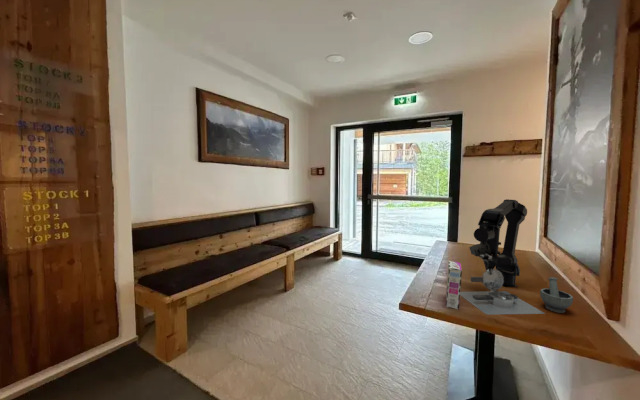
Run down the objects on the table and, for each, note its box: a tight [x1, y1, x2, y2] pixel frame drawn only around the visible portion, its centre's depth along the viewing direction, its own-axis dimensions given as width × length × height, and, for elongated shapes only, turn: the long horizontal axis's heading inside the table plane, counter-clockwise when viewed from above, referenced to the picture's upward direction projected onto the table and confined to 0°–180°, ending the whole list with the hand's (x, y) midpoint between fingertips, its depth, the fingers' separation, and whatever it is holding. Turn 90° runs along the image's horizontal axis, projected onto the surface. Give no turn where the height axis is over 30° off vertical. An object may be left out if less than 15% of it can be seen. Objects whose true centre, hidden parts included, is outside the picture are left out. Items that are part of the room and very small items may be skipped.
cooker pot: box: [473, 290, 519, 308], centre depth 111 cm, size 18×9×3 cm, turn 94°
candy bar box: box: [445, 260, 463, 310], centre depth 110 cm, size 11×5×16 cm, turn 155°
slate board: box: [460, 290, 546, 316], centre depth 112 cm, size 24×20×1 cm
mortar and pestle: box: [539, 276, 574, 314], centre depth 107 cm, size 11×9×12 cm
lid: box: [470, 268, 504, 291], centre depth 115 cm, size 14×9×2 cm
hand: (488, 273), depth 118 cm, fingers closed
